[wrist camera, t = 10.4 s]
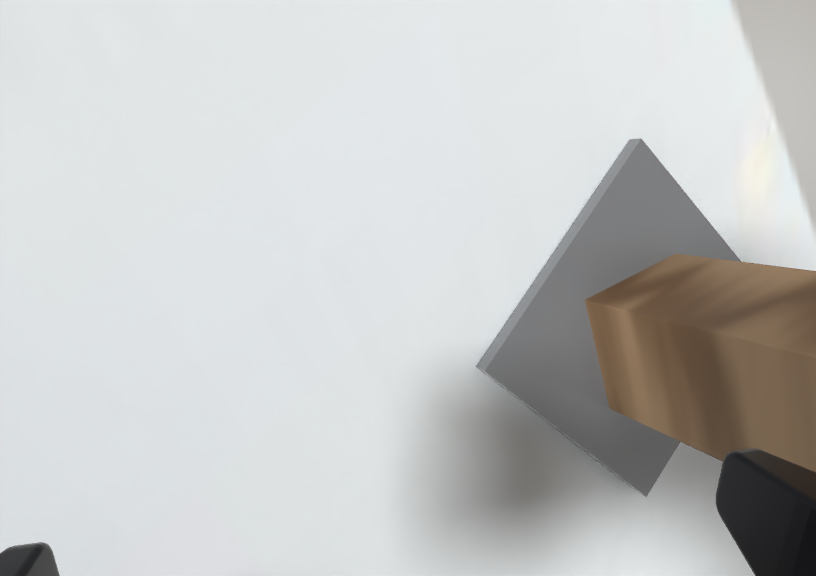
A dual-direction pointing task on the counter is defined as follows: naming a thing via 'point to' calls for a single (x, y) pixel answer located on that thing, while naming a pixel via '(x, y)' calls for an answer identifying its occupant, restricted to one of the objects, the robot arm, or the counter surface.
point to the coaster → (569, 322)
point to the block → (713, 354)
